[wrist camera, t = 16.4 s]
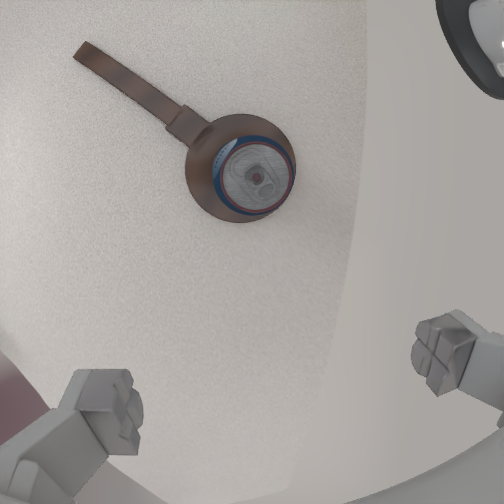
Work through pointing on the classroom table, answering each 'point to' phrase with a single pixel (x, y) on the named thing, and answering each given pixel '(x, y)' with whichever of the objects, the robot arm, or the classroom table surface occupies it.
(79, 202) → the classroom table surface
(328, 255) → the classroom table surface
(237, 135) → the serving spoon
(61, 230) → the classroom table surface
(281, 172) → the soda can
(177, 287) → the classroom table surface
